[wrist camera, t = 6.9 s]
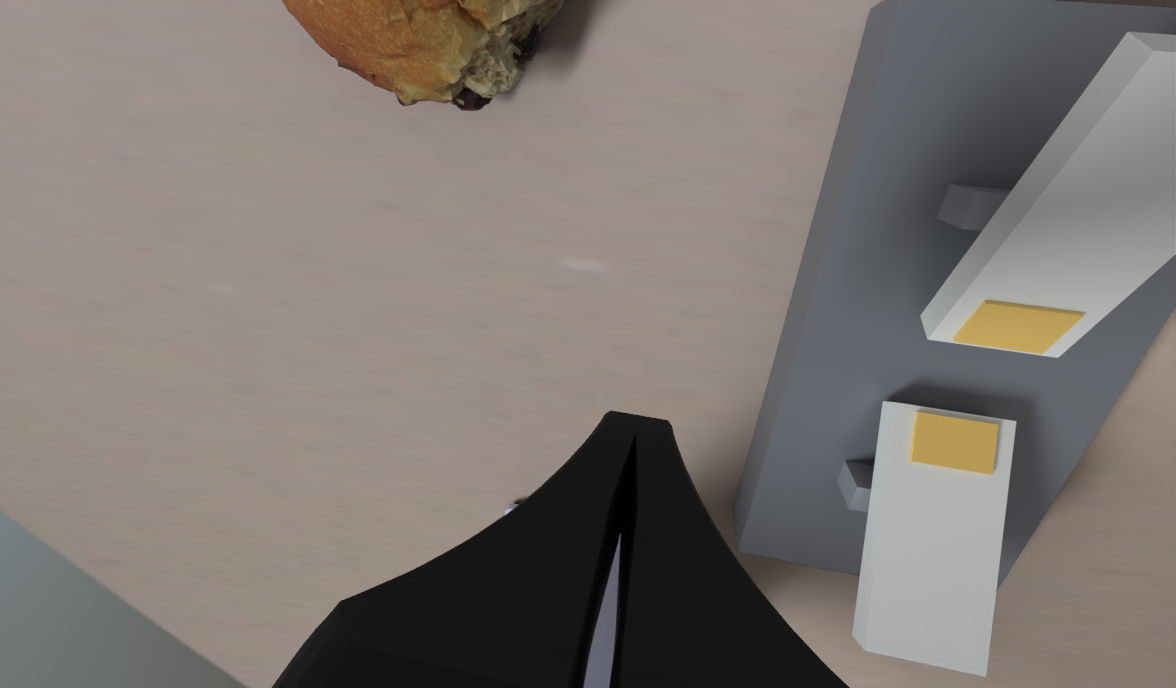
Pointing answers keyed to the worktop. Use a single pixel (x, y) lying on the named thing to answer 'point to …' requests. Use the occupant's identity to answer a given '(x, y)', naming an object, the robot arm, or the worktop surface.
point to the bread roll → (430, 43)
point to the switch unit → (933, 272)
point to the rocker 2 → (1076, 216)
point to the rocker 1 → (934, 536)
